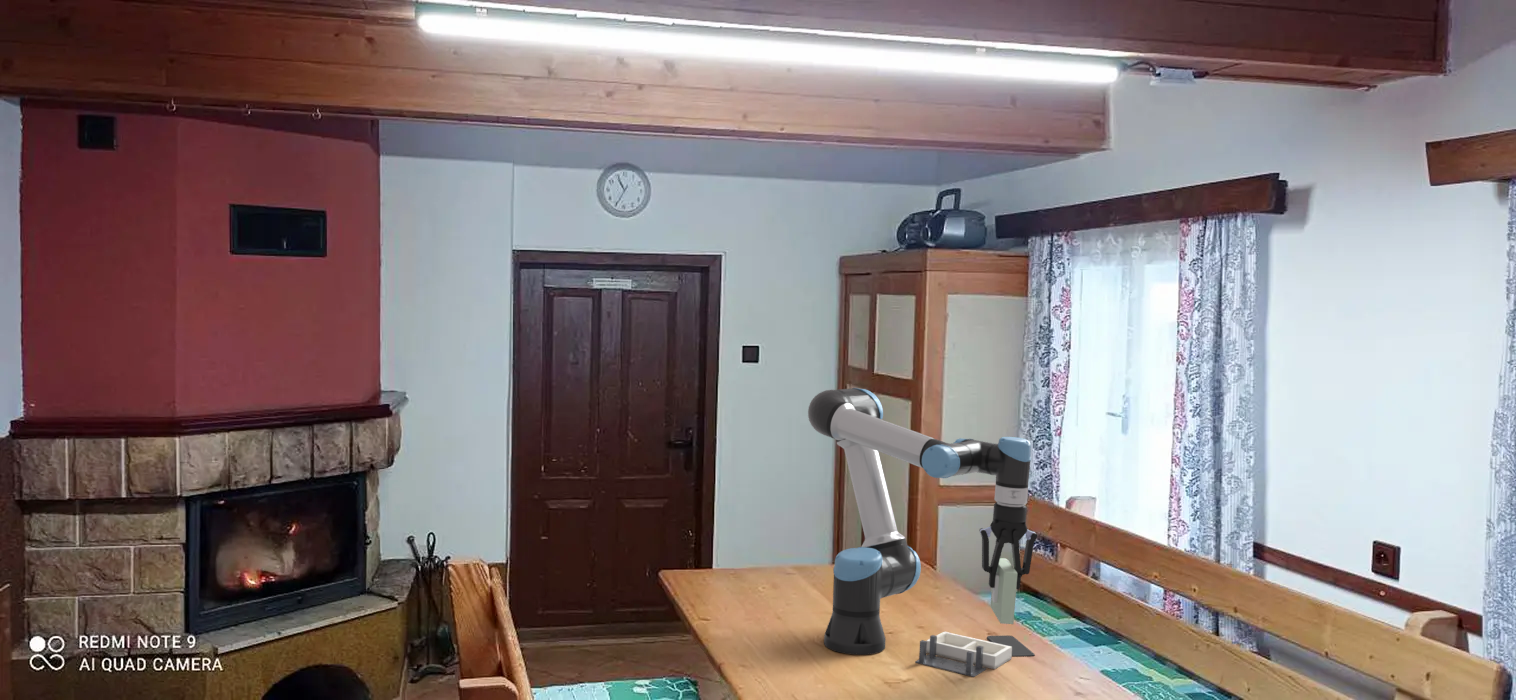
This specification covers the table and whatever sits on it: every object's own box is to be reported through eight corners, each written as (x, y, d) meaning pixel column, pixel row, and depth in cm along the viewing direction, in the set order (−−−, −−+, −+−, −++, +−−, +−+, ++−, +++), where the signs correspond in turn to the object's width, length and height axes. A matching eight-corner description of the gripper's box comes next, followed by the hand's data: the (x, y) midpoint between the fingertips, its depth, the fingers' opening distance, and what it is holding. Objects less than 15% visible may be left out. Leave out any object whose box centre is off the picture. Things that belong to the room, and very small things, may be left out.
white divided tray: (925, 652, 268) (926, 640, 268) (943, 643, 276) (944, 631, 276) (994, 669, 258) (995, 656, 258) (1011, 658, 266) (1011, 646, 266)
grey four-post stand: (915, 662, 260) (916, 640, 260) (928, 655, 266) (929, 633, 266) (973, 677, 252) (974, 654, 252) (986, 669, 258) (987, 647, 257)
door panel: (1018, 624, 252) (1022, 573, 251) (1000, 623, 252) (1004, 572, 252) (1007, 607, 265) (1011, 558, 264) (990, 606, 265) (994, 557, 265)
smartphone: (1007, 655, 268) (985, 635, 282) (1007, 659, 268) (985, 639, 283) (1036, 654, 269) (1012, 635, 284) (1036, 658, 269) (1012, 638, 284)
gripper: (978, 504, 254) (970, 604, 255) (1049, 509, 253) (1041, 608, 255) (972, 498, 261) (965, 594, 263) (1041, 502, 261) (1034, 599, 262)
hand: (1003, 601), depth 259 cm, fingers closed on door panel, 3 cm apart
